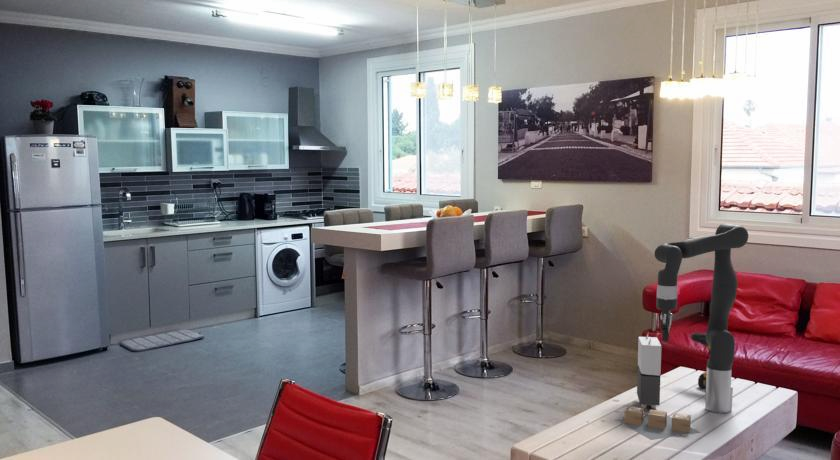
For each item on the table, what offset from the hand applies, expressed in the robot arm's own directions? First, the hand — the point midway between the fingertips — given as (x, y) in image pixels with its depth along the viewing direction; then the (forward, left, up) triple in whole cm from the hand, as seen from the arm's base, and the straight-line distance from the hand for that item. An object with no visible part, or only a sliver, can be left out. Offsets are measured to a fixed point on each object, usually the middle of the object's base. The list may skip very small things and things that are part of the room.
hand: (665, 340), depth 281 cm
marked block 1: (+14, +1, -30) cm, 33 cm away
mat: (+8, +7, -31) cm, 33 cm away
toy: (-4, -15, -31) cm, 35 cm away
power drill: (-45, -28, -31) cm, 61 cm away
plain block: (+8, +7, -30) cm, 32 cm away
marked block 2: (+2, +13, -30) cm, 33 cm away
